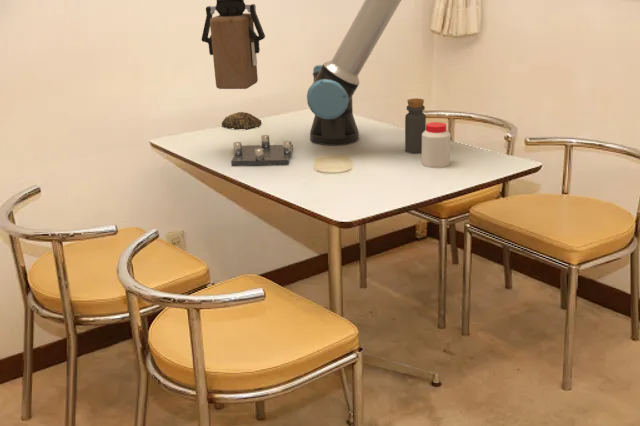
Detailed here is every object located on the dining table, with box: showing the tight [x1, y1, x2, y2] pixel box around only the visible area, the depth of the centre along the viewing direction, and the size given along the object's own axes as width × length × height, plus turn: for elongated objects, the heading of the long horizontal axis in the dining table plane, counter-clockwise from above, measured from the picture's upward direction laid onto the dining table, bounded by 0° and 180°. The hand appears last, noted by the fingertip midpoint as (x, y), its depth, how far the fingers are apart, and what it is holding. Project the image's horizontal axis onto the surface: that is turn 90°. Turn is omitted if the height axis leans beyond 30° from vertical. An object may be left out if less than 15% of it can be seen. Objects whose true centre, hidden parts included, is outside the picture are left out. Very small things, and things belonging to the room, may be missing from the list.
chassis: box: [230, 134, 294, 167], centre depth 225 cm, size 17×17×4 cm
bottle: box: [404, 98, 427, 155], centre depth 224 cm, size 6×6×15 cm
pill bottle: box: [420, 121, 451, 169], centre depth 213 cm, size 8×8×11 cm
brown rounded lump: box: [221, 111, 262, 130], centre depth 263 cm, size 13×12×5 cm
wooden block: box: [210, 12, 259, 90], centre depth 223 cm, size 10×10×20 cm
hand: (235, 65), depth 224 cm, fingers closed on wooden block, 10 cm apart
